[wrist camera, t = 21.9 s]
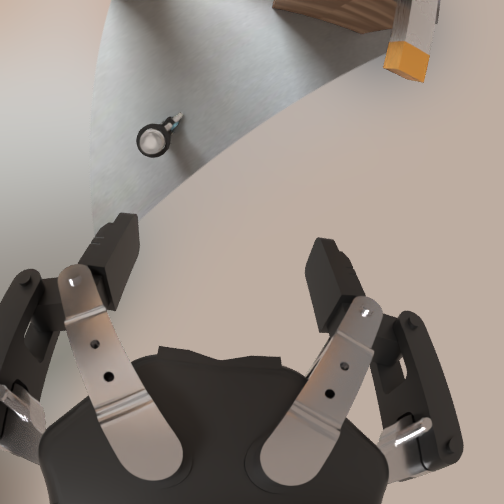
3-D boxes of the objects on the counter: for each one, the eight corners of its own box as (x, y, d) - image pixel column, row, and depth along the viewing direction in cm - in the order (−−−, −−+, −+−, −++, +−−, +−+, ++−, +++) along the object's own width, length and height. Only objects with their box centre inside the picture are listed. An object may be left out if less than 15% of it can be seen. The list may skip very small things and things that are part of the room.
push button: (172, 103, 40) (156, 111, 32) (193, 123, 43) (181, 136, 35) (147, 129, 42) (127, 143, 35) (167, 147, 45) (151, 166, 37)
